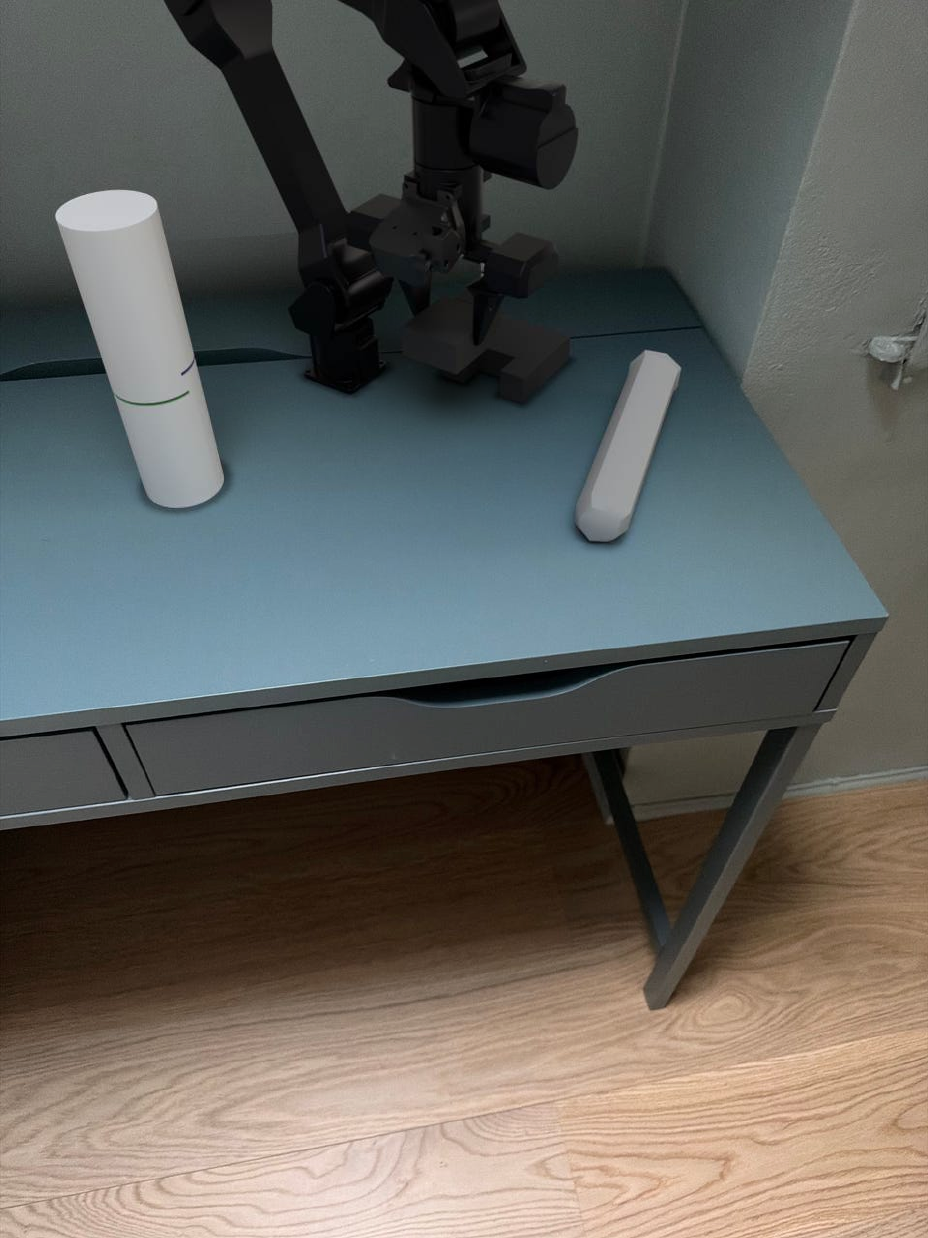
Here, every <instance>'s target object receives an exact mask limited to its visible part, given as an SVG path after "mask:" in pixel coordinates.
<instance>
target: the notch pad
mask: <svg viewBox="0 0 928 1238" xmlns="http://www.w3.org/2000/svg"><path fill="white" fill-rule="evenodd" d="M571 338H572V336H571V334H567V333H565V332H562V331H558V330H556V329H552V328H550V327H549V328H548V327H547V326H542V325H540V324H536V323H534V322H530V321H527V320H523V319H520V318H517V317H514V316H511V315H507V314H505V313H501V325H500V326H499V327H498V328H497V336H496V342H495V343H493V344H492V345H491V346H490V347H489V348H488V349H486V350H485V351H484V352H483V353H482V354H480V355H479V356H478V357H477V358H476V359H474V360H473V361H472V362H471V363H470V364H468V365H467V366H466V367H465V368H464V369H463V370H461V371H460V372H459V373H458V374H453V373H450V372H448V371H445V370H442V369H441V376H442V377H445V378H448V379H451V380H453V381H456V382H459V383H462V384H464V383H466V382H467V380H469V379H470V378H472V376H474V375H475V374H476V373H477V372H478V371H480V372H484V373H486V374H489V375H492V376H495V377H498V378H499V397H501V398H504V399H508V400H510V401H512V402H516V403H519V404H521V405H524V404H525V403H526V402H527V401H528V400H529V399H530V398H531V397H532V396H533V395H534V394H535V393H536V392H537V391H538V390H539V389H540V388H541V387H542V386H543V385H544V384H545V383H546V382H548V381H549V379H550V378H551V377H553V376H554V374H555V373H557V372H558V371H559V370H560V369H561V368H562V367H563V366H564V365H565V364H566V363H568V361H569V359H570V358H569V357H570V348H571Z"/></svg>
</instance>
